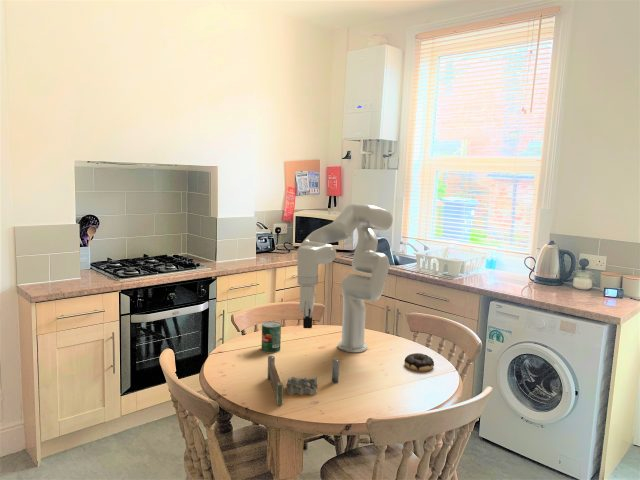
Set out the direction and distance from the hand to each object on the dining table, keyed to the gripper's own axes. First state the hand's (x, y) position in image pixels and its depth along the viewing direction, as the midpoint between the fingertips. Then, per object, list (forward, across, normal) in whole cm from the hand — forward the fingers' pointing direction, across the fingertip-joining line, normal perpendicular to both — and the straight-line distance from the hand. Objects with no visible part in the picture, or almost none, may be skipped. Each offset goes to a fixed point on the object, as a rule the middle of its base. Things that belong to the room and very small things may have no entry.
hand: (307, 327), depth 190 cm
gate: (+15, +21, -10) cm, 28 cm away
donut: (+19, -8, +43) cm, 48 cm away
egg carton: (+16, +18, -1) cm, 25 cm away
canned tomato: (+17, -19, -16) cm, 30 cm away
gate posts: (+16, +10, -1) cm, 19 cm away
